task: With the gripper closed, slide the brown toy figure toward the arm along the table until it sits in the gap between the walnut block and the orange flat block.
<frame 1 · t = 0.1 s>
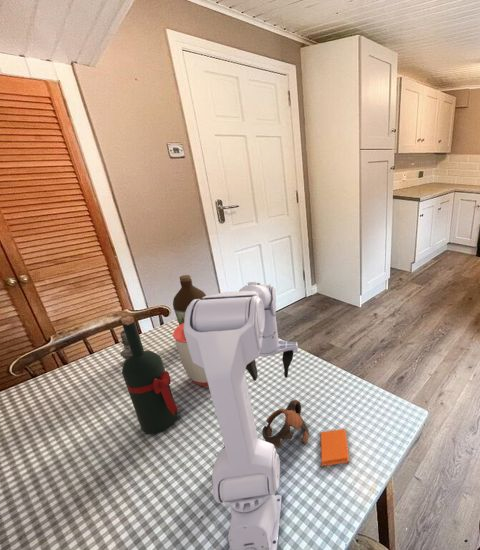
hand: (271, 376, 78), 10 cm above the table, tool pointing down, fingers open, 7 cm apart
citrus juicer: (217, 375, 93), on the table
walnut block: (239, 461, 67), on the table
wine bottle: (164, 423, 77), on the table
orange flat block: (334, 448, 70), on the table
brown toy figure: (289, 434, 74), on the table
olive oil: (199, 340, 111), on the table
salt shaker: (134, 360, 100), on the table
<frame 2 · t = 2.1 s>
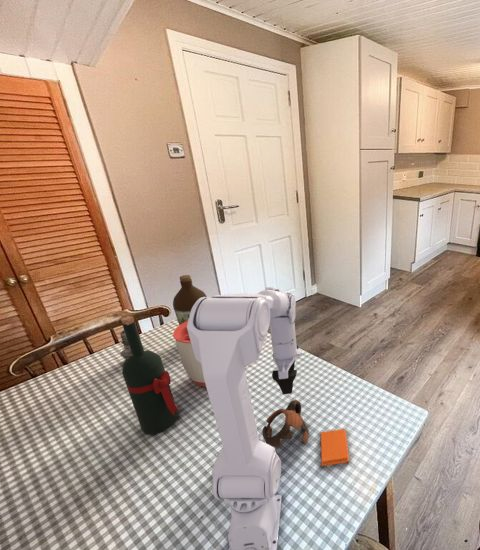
hand: (288, 382, 78), 8 cm above the table, tool pointing down, fingers open, 7 cm apart
nothing on the table moved.
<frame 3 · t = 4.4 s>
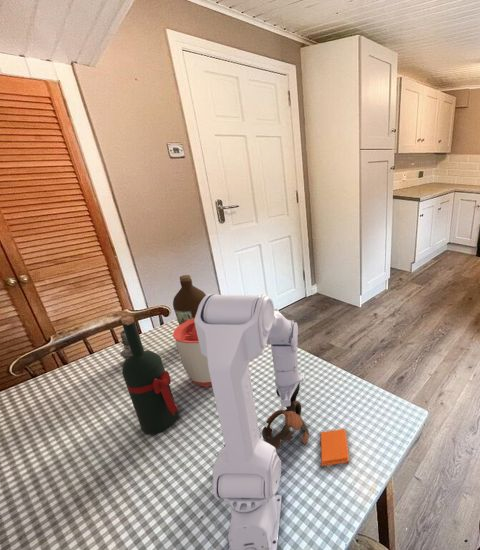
hand: (290, 406, 79), 2 cm above the table, tool pointing down, fingers closed
brown toy figure: (289, 435, 73), on the table, touching gripper
everything else where it was.
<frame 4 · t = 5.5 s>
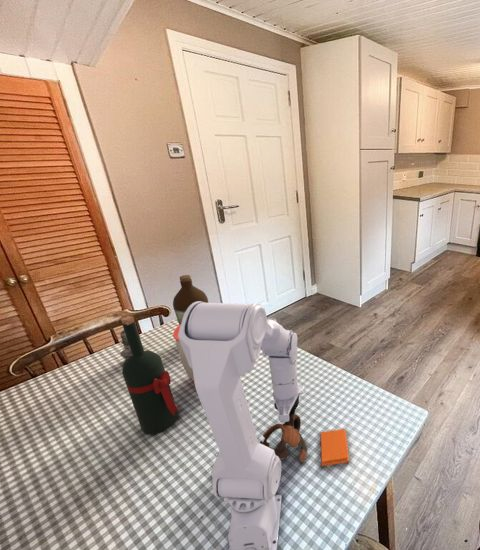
hand: (289, 420, 75), 2 cm above the table, tool pointing down, fingers closed
brown toy figure: (287, 451, 69), on the table, touching gripper
everything else where it was.
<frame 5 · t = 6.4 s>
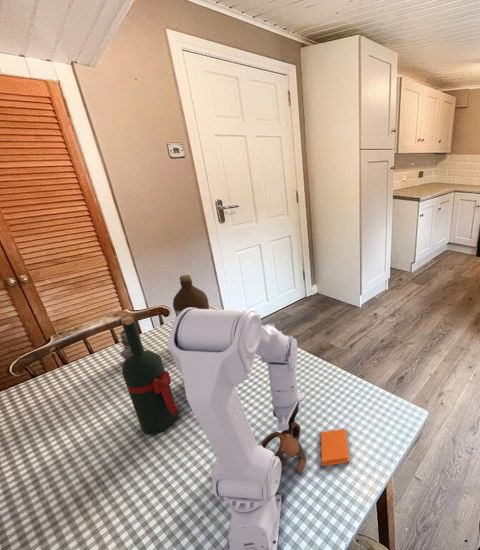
hand: (289, 427, 73), 2 cm above the table, tool pointing down, fingers closed
brown toy figure: (285, 460, 67), on the table, touching gripper
everything else where it was.
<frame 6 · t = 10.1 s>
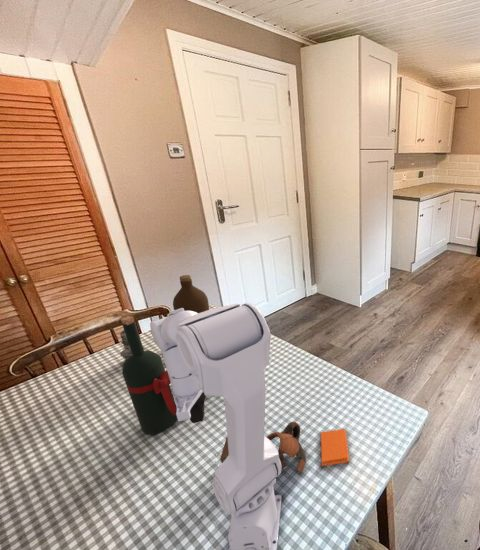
hand: (198, 419, 66), 9 cm above the table, tool pointing down, fingers closed
brown toy figure: (285, 460, 67), on the table
everything else where it was.
at the end: brown toy figure 1.4 cm from the target spot, on the table; brown toy figure tilted 0° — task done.
